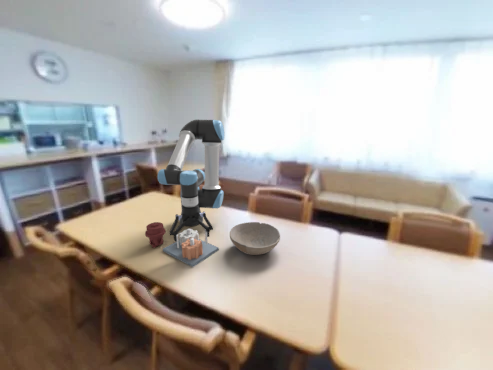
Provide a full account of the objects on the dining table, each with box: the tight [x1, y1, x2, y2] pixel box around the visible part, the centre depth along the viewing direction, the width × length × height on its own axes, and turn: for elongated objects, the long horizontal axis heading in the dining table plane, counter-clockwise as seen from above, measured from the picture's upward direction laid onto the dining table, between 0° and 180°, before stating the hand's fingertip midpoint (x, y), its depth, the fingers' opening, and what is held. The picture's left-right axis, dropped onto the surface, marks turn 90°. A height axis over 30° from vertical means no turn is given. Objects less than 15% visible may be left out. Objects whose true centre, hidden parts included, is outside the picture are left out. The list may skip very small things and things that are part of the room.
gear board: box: [162, 228, 220, 268], centre depth 121 cm, size 18×22×10 cm
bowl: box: [229, 221, 281, 256], centre depth 123 cm, size 26×26×10 cm
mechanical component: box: [144, 221, 167, 249], centre depth 125 cm, size 12×10×10 cm
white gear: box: [178, 228, 200, 246], centre depth 126 cm, size 10×10×6 cm
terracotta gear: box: [182, 239, 203, 260], centre depth 116 cm, size 10×10×6 cm
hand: (192, 244), depth 116 cm, fingers open, 13 cm apart
